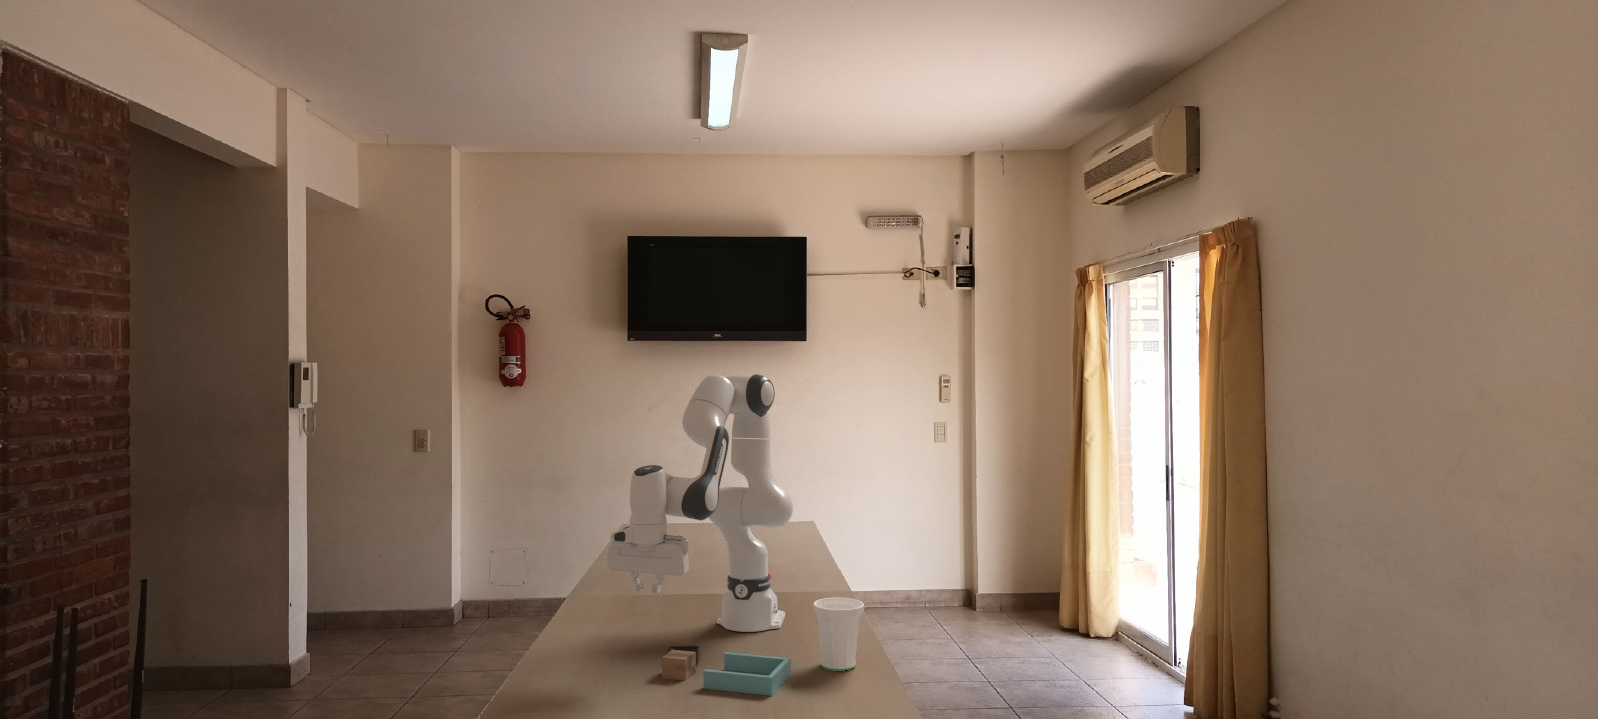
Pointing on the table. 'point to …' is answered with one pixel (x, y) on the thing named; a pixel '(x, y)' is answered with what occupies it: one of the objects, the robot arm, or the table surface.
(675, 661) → the walnut block
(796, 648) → the table surface
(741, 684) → the box
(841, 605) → the cup
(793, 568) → the table surface
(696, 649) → the phone
